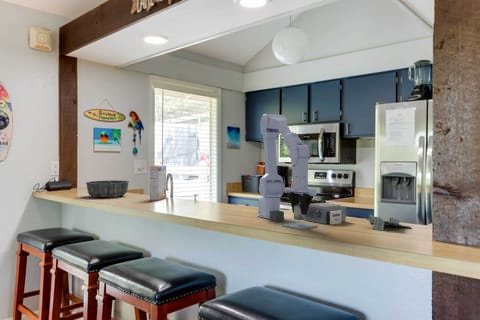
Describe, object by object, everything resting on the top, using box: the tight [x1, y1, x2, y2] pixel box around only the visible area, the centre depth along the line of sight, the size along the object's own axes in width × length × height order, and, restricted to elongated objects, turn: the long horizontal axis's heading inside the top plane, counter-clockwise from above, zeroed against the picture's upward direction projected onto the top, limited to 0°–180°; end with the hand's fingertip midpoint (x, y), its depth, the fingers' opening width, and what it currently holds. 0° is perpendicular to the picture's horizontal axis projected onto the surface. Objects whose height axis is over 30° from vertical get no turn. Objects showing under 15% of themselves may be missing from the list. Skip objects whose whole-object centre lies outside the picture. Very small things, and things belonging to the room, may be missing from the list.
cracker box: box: [149, 164, 167, 202], centre depth 220 cm, size 14×6×21 cm, turn 172°
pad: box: [282, 221, 318, 231], centre depth 134 cm, size 9×9×1 cm
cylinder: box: [293, 203, 305, 221], centre depth 134 cm, size 4×4×6 cm
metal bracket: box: [364, 214, 412, 232], centre depth 134 cm, size 14×6×15 cm
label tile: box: [329, 210, 342, 225], centre depth 141 cm, size 1×6×5 cm, turn 126°
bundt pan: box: [85, 179, 130, 198], centre depth 234 cm, size 26×26×10 cm
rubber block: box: [269, 210, 285, 223], centre depth 146 cm, size 4×4×4 cm
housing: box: [303, 202, 347, 225], centre depth 148 cm, size 12×13×7 cm
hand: (299, 213), depth 134 cm, fingers closed on cylinder, 4 cm apart
